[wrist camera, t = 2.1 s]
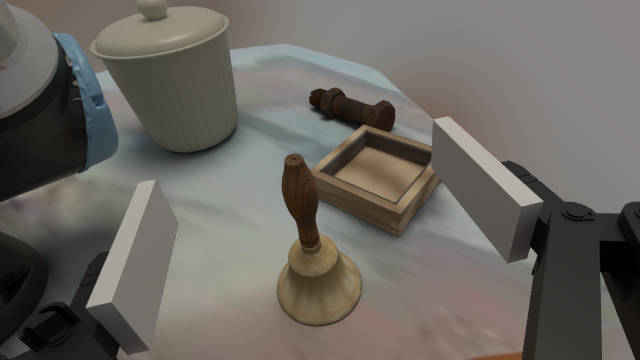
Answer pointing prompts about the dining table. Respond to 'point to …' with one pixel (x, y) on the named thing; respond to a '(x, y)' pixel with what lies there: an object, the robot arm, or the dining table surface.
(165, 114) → the canister
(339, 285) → the hand bell
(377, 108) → the bolt
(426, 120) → the dining table surface
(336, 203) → the square tray
